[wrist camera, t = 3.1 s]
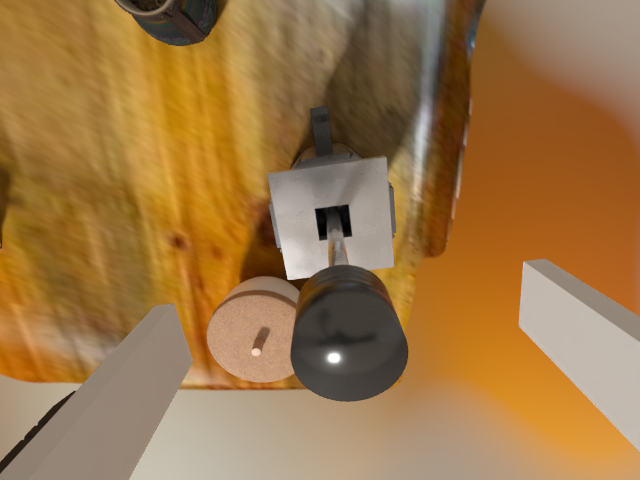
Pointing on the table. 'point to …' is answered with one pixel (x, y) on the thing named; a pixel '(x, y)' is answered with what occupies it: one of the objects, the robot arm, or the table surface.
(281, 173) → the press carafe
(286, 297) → the lidded jar
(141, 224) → the table surface
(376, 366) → the plunger
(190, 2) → the mate gourd
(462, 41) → the table surface
